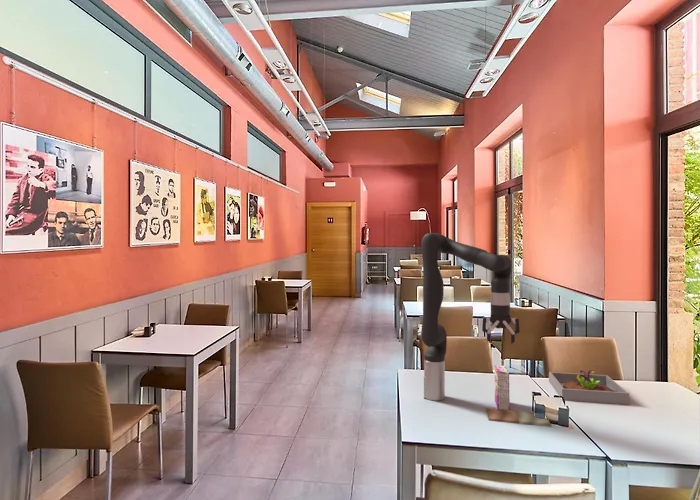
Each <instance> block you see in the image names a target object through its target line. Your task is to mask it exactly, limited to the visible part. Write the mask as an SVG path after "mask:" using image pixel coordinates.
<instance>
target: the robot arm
mask: <svg viewBox="0 0 700 500" xmlns="http://www.w3.org/2000/svg"><path fill="white" fill-rule="evenodd" d="M420 247H421V254H422V255H421V256H422V274H423V275H422V321H421V322H422V323H421V333H420V336H421V341H422V343H423V344H424V345H425V346H427V348H426V350H425V352H424V354H423V359H424V360H423V370H424V371H423V373H424V374H423V375H424V376H423V399H424V398H426V399H427V400H429V401H442V400H444V399H446V398H445V397H446V388H445V387H446V380H445V379H446V377H445V376H446V375H445V374H446V372H445V371H446V369H445V368H446V367H445V366H446V365H445V363H446V362H445V361H446V359H445V357H446V354H447V345H448V344H447V339H448V338H447V331H446V328H445V327H444V326H443V325H441V324H440V323H439V314H440V313H439V312H440V310H441V307H442V304H443V300H444V291H445V290H444V287H445V286H444V280H443V276H442V274H441V271H440V268H439V261H438V259H439V257H438V255H439V254H440V253H441V254H447V255H452V256H453V257H454V256H455V257H457V258H459V259H461V260H463V261H464V262H467V263H470V264H473V265H475V266H476V265H477V266H480V267H481V268H482V267H483V268H484V269H487V270H488V271H491V272H494V275H493V278H492V279H491V280H490V301H489V303H490V316H489V317H488V316H487V317H486V316H483V317H482V327H481V329H482V332H483V333H486V340H487V342H488V343H489V344H491V343H492V336H491V335H492V331H494V329H495V328H496V329H503V330H505V329H507V330H508V331H509V332H510V334H509V337H510V344H511V345H513V344H514V343H515V342H516V341H515V338H516V337H515V335H516V334H520V320H519V318H518V317H511V295H510V278H511V274H512V260H511V259H510V257H509V256H508V255H506V254H495V253H492V252H488V251H487V250H485V249H483V248H479V247H475V246H473V245H468V244H464V243H461V242H458V241H456V240H454V239H451V238H449V237H448V236H445V235H443V234H441V233H438V232H428V233H426V234H424V236H422V240H421V246H420ZM489 321H490V322H491V325H490V326H489V327H488V329H487V323H489ZM511 323H513V324H514V327H515V329H513V328H512V327H511V325H510V324H511Z"/></svg>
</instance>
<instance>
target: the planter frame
mask: <svg viewBox="0 0 700 500" xmlns="http://www.w3.org/2000/svg"><path fill="white" fill-rule="evenodd" d="M581 374H583V375H584V376H585V374H584V373H581ZM581 374H580V373H576V372H575V373H574V372H573V373H572V372H571V373H570V372H557V371H556V372H555V371H549V372H548V382H549V384H550V385H551V387H552V388H553V389H554V391H555V392H556V394H557V395H558V396H559V397H560V396H562V397H564V399H565V400H564V401H571V402H584V403H585V402H586V403H596V404H597V403H598V404H601V403H602V404H610V405H611V404H613V405H624V406H626V405H627V406H629V405H630V393H629V392H628V391H627V390H625V388H624V387H623V386H621V385H620V384H618V383H617V382H616V381H615V380H614V379H612V378H611V377H610V376H609V375H608V374H592V373H590V374H589V375H590V378H593V382H595V381H600V382H598V383H597V384H600V385H602V386H607V387H609V388H610V389H612V390H613V391H615V392H609V391H594V390H579V389H564V388H563V384H565V383H567V382H570V381H575V380H576V381H579V380H578V379H577V378H578V377H577V376H578V375H581ZM587 374H588V373H586V375H587ZM582 377H583V376H581V377H580V379H582ZM583 378H584V377H583Z"/></svg>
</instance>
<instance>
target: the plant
mask: <svg viewBox="0 0 700 500" xmlns="http://www.w3.org/2000/svg"><path fill="white" fill-rule="evenodd" d="M578 374H581V375H578V376H577V377H578V378H577V379H578V380H579V381H576V380H575V381H570V382H567V383H562V386H563V388H564V389H579V390H594V391H609V392H615V391H613V390H612V389H610V388H609V387H607V386H602V385H600V384H597V383H598V382H600V381H595V382H593V378H590V375H589V374H593V375H596V373H595V371H594V370H592V369H589V370H588V371H587V373H586V371H584V370H581V369H580V370H579V373H578ZM583 374H585V376H584V375H583ZM586 374H587V375H586ZM581 376H583V377H584V378H583V377H582V379H580V377H581Z"/></svg>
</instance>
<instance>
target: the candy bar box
mask: <svg viewBox="0 0 700 500" xmlns="http://www.w3.org/2000/svg"><path fill="white" fill-rule="evenodd" d="M493 367H494V369H493V370H494V371H493V373H494V375H493V376H494V402H495V405H496V407H497V408H496V409H502V410H511V408H510V372H509V370H508V368H507V367H506V365H502V364H501V365H499V364H496V365H493Z"/></svg>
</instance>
